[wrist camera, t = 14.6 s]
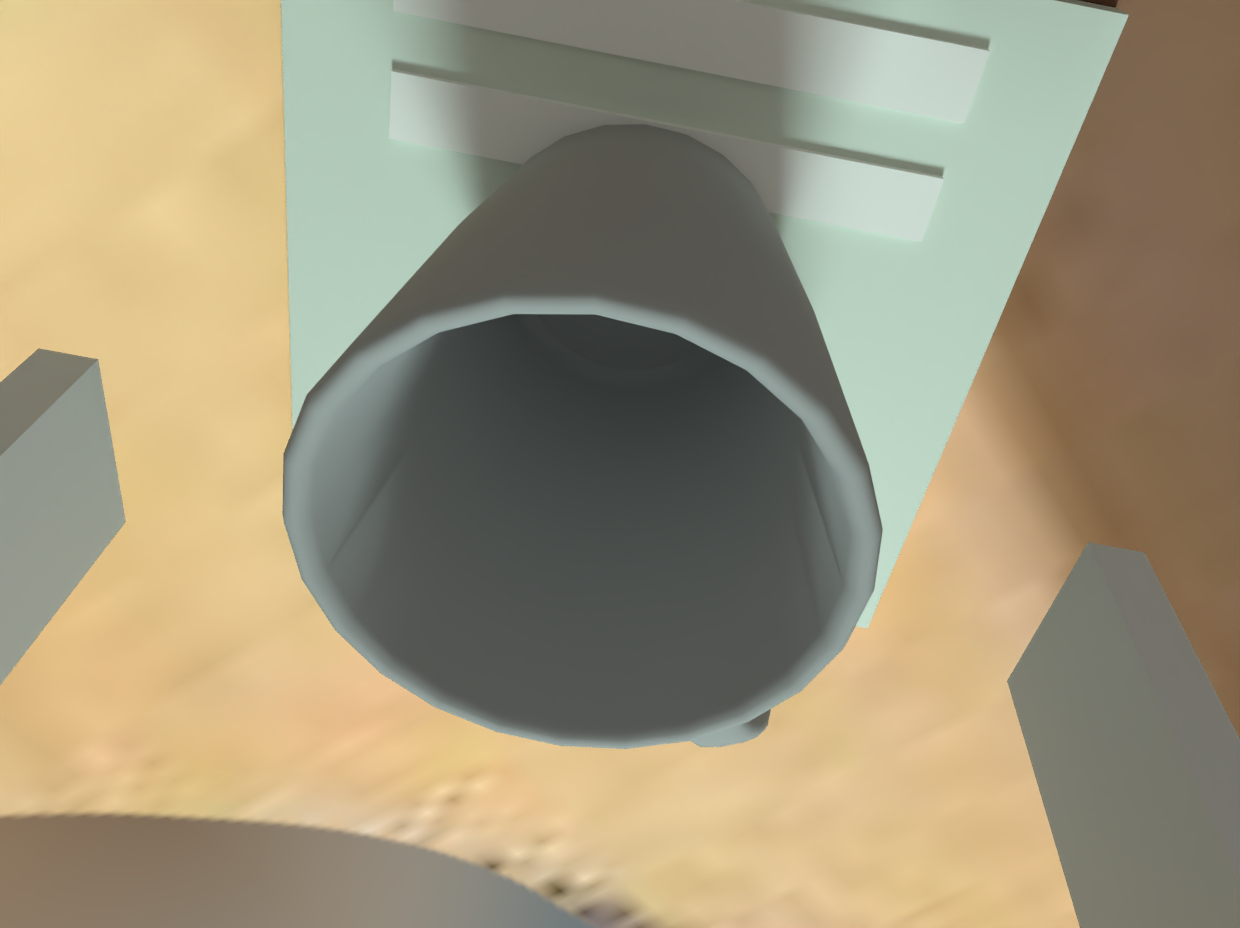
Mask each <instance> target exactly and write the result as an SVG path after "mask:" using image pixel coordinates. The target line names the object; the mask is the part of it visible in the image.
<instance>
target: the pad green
mask: <svg viewBox="0 0 1240 928" xmlns="http://www.w3.org/2000/svg"><path fill="white" fill-rule="evenodd" d="M1128 16H1129V15H1128V14H1126V13H1124V12H1123V11H1121V10H1119V9H1118V8H1114V7H1109V6H1104V5H1099V4H1094V3H1089V2H1084V1H1079V0H281V19H282V56H283V93H284V130H285V167H286V204H287V241H288V278H289V315H290V352H291V389H292V426H293V428H294V426H295V423H296V421H297V418H298V416H299V413H300V410H301V408H302V405H303V403H304V400H305V398H306V395H307V394H308V393H309V391H310V390H311V389H312V388H313V387H314V386H315V385H316V383H317V382H318V381H319V380H320V379H321V378H322V377H323V376H324V374H325V373H326V372H327V371H328V370H329V369H330V368H331V366H332V365H333V364H334V363H335V362H336V361H337V360H338V358H339V357H340V356H341V355H342V354H343V353H344V352H345V351H346V349H347V348H348V347H349V346H350V345H351V344H352V343H353V341H354V340H355V339H356V338H357V337H358V336H359V335H360V334H361V333H362V331H363V330H364V329H365V328H366V327H367V326H368V325H369V324H370V323H371V321H372V320H373V319H374V318H375V317H376V316H377V315H378V314H379V313H380V311H381V310H382V309H383V308H384V307H385V306H386V305H387V304H388V303H389V301H390V300H391V299H392V298H393V297H394V296H395V295H396V294H397V293H398V291H399V290H400V289H401V288H402V287H403V286H404V285H405V284H406V283H407V281H408V280H409V279H410V278H411V277H412V276H413V275H414V274H415V273H416V271H417V270H418V269H419V268H420V267H421V266H422V265H423V264H424V263H425V261H426V260H427V259H428V258H429V257H430V256H431V255H432V254H433V253H434V251H435V250H436V249H437V248H438V247H439V246H440V245H441V244H442V243H443V241H444V240H445V239H446V238H447V237H448V236H449V235H450V234H451V233H452V231H453V230H454V229H455V228H456V227H457V226H458V225H459V224H460V223H461V222H462V221H463V220H464V219H465V218H466V217H467V216H468V215H469V214H471V213H472V212H473V211H474V210H475V209H476V208H477V207H478V206H479V205H480V204H481V203H482V202H483V201H485V200H486V199H487V198H488V197H489V196H490V195H491V194H492V193H493V192H494V191H495V190H496V189H497V188H498V187H500V186H501V185H502V184H503V183H504V182H505V181H506V180H507V179H508V178H509V177H510V176H511V175H512V174H514V173H515V172H516V171H517V170H518V169H519V168H520V167H521V166H522V165H523V164H524V163H525V162H526V161H528V160H529V159H530V158H531V157H532V156H534V155H535V154H537V153H539V152H540V151H542V150H543V149H545V148H547V147H548V146H550V145H551V144H553V143H555V142H556V141H558V140H559V139H561V138H563V137H564V136H567V135H571V134H574V133H578V132H581V131H585V130H588V129H592V128H595V127H598V126H602V125H632V124H647V125H651V126H655V127H659V128H663V129H666V130H670V131H674V132H678V133H682V134H686V135H688V136H690V137H692V138H694V139H696V140H697V141H699V142H701V143H703V144H704V145H706V146H708V147H710V148H712V149H713V150H715V151H717V152H719V153H721V154H722V155H724V156H725V157H726V158H727V159H728V160H729V161H730V162H731V163H732V164H733V165H734V166H735V167H736V168H737V169H738V170H739V171H740V172H741V173H742V174H743V175H744V176H745V177H746V178H747V179H748V180H749V181H750V182H751V183H752V184H753V186H754V188H755V189H756V191H757V193H758V195H759V196H760V198H761V200H762V202H763V203H764V205H765V207H766V209H767V210H768V212H769V214H770V216H771V217H772V220H773V222H774V224H775V226H776V228H777V231H778V233H779V235H780V237H781V239H782V242H783V244H784V246H785V248H786V250H787V253H788V255H789V257H790V259H791V261H792V264H793V266H794V268H795V270H796V272H797V275H798V277H799V279H800V281H801V283H802V286H803V288H804V290H805V292H806V294H807V297H808V299H809V301H810V303H811V305H812V308H813V310H814V312H815V315H816V318H817V321H818V323H819V326H820V329H821V332H822V335H823V337H824V340H825V343H826V346H827V349H828V351H829V354H830V357H831V360H832V363H833V365H834V368H835V371H836V374H837V377H838V379H839V382H840V385H841V388H842V391H843V393H844V396H845V399H846V402H847V405H848V407H849V410H850V413H851V416H852V418H853V421H854V424H855V427H856V430H857V432H858V435H859V438H860V441H861V444H862V446H863V449H864V452H865V455H866V458H867V460H868V463H869V467H870V471H871V476H872V481H873V485H874V490H875V495H876V500H877V504H878V509H879V514H880V518H881V523H882V528H883V532H882V539H881V546H880V553H879V560H878V567H877V574H876V581H875V588H874V591H873V593H872V595H871V597H870V599H869V601H868V603H867V605H866V607H865V609H864V610H863V612H862V614H861V616H860V618H859V620H858V622H857V624H856V626H858V627H863V628H868V626H869V623H870V621H871V619H872V616H873V614H874V612H875V609H876V607H877V605H878V602H879V600H880V598H881V595H882V593H883V591H884V588H885V586H886V584H887V581H888V579H889V577H890V574H891V572H892V569H893V567H894V565H895V562H896V560H897V558H898V555H899V553H900V551H901V548H902V546H903V544H904V541H905V539H906V537H907V534H908V532H909V530H910V527H911V525H912V523H913V520H914V518H915V516H916V513H917V511H918V508H919V506H920V504H921V501H922V499H923V497H924V494H925V492H926V490H927V487H928V485H929V483H930V480H931V478H932V476H933V473H934V471H935V469H936V466H937V464H938V462H939V459H940V457H941V454H942V452H943V450H944V447H945V445H946V443H947V440H948V438H949V436H950V433H951V431H952V429H953V426H954V424H955V422H956V419H957V417H958V415H959V412H960V410H961V408H962V405H963V403H964V401H965V398H966V396H967V393H968V391H969V389H970V386H971V384H972V382H973V379H974V377H975V375H976V372H977V370H978V368H979V365H980V363H981V361H982V358H983V356H984V354H985V351H986V349H987V347H988V344H989V342H990V339H991V337H992V335H993V332H994V330H995V328H996V325H997V323H998V321H999V318H1000V316H1001V314H1002V311H1003V309H1004V307H1005V304H1006V302H1007V300H1008V297H1009V295H1010V293H1011V290H1012V288H1013V286H1014V283H1015V281H1016V278H1017V276H1018V274H1019V271H1020V269H1021V267H1022V264H1023V262H1024V260H1025V257H1026V255H1027V253H1028V250H1029V248H1030V246H1031V243H1032V241H1033V239H1034V236H1035V234H1036V232H1037V229H1038V227H1039V224H1040V222H1041V220H1042V217H1043V215H1044V213H1045V210H1046V208H1047V206H1048V203H1049V201H1050V199H1051V196H1052V194H1053V192H1054V189H1055V187H1056V185H1057V182H1058V180H1059V178H1060V175H1061V173H1062V171H1063V168H1064V166H1065V163H1066V161H1067V159H1068V156H1069V154H1070V152H1071V149H1072V147H1073V145H1074V142H1075V140H1076V138H1077V135H1078V133H1079V131H1080V128H1081V126H1082V124H1083V121H1084V119H1085V117H1086V114H1087V112H1088V109H1089V107H1090V105H1091V102H1092V100H1093V98H1094V95H1095V93H1096V91H1097V88H1098V86H1099V84H1100V81H1101V79H1102V77H1103V74H1104V72H1105V70H1106V67H1107V65H1108V63H1109V60H1110V58H1111V56H1112V53H1113V51H1114V48H1115V46H1116V44H1117V41H1118V39H1119V37H1120V34H1121V32H1122V30H1123V27H1124V25H1125V23H1126V20H1127V18H1128Z"/></svg>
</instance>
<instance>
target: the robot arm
mask: <svg viewBox="0 0 1240 928" xmlns="http://www.w3.org/2000/svg"><path fill="white" fill-rule="evenodd" d="M125 522H126V521H125V515H124V509H123V503H122V497H121V491H120V485H119V480H118V474H117V468H116V462H115V456H114V450H113V444H112V438H111V432H110V427H109V421H108V415H107V409H106V403H105V397H104V391H103V385H102V379H101V374H100V368H99V362H98V359H93V358H87V357H82V356H77V355H71V354H66V353H60V352H55V351H50V350H44V349H38V350H36V351H35V352H34V353H33V354H32V355H31V356H30V357H29V358H27V359H26V360H25V361H24V362H23V363H22V364H21V365H20V366H18V367H17V368H16V369H15V370H14V371H13V372H12V373H11V374H9V375H8V376H7V377H6V378H5V379H4V380H3V381H2V382H0V685H1V684H2V682H3V681H4V680H5V678H6V677H7V676H8V674H9V673H10V672H11V670H12V669H13V668H14V667H15V665H16V664H17V663H18V661H19V660H20V659H21V657H22V656H23V655H24V654H25V652H26V651H27V650H28V648H29V647H30V646H31V644H32V643H33V642H34V641H35V639H36V638H37V637H38V635H39V634H40V633H41V631H42V630H43V629H44V627H45V626H46V625H47V624H48V622H49V621H50V620H51V618H52V617H53V616H54V614H55V613H56V612H57V611H58V609H59V608H60V607H61V605H62V604H63V603H64V601H65V600H66V599H67V597H68V596H69V595H70V594H71V592H72V591H73V590H74V588H75V587H76V586H77V584H78V583H79V582H80V581H81V579H82V578H83V577H84V575H85V574H86V573H87V571H88V570H89V569H90V568H91V566H92V565H93V564H94V562H95V561H96V560H97V558H98V557H99V556H100V554H101V553H102V552H103V551H104V549H105V548H106V547H107V545H108V544H109V543H110V541H111V540H112V539H113V538H114V536H115V535H116V534H117V532H118V531H119V530H120V528H121V527H122V526H123V524H124V523H125ZM1007 682H1008V685H1009V689H1010V692H1011V695H1012V699H1013V702H1014V706H1015V709H1016V712H1017V716H1018V719H1019V722H1020V726H1021V729H1022V733H1023V736H1024V739H1025V743H1026V746H1027V750H1028V753H1029V756H1030V760H1031V763H1032V766H1033V770H1034V773H1035V777H1036V780H1037V783H1038V787H1039V790H1040V794H1041V797H1042V800H1043V804H1044V807H1045V811H1046V814H1047V817H1048V821H1049V824H1050V827H1051V831H1052V834H1053V838H1054V841H1055V844H1056V848H1057V851H1058V855H1059V858H1060V861H1061V865H1062V868H1063V872H1064V875H1065V878H1066V882H1067V885H1068V888H1069V892H1070V895H1071V899H1072V902H1073V905H1074V909H1075V912H1076V916H1077V919H1078V922H1079V926H1080V928H1240V739H1239V737H1238V735H1237V733H1236V731H1235V729H1234V727H1233V725H1232V723H1231V721H1230V719H1229V717H1228V715H1227V713H1226V712H1225V710H1224V708H1223V706H1222V704H1221V702H1220V700H1219V698H1218V696H1217V694H1216V692H1215V690H1214V688H1213V686H1212V684H1211V682H1210V680H1209V678H1208V676H1207V674H1206V672H1205V670H1204V668H1203V666H1202V664H1201V662H1200V661H1199V659H1198V657H1197V655H1196V653H1195V651H1194V649H1193V647H1192V645H1191V643H1190V641H1189V639H1188V637H1187V635H1186V633H1185V631H1184V629H1183V627H1182V625H1181V623H1180V621H1179V619H1178V617H1177V615H1176V613H1175V611H1174V609H1173V608H1172V606H1171V604H1170V602H1169V600H1168V598H1167V596H1166V594H1165V592H1164V590H1163V588H1162V586H1161V584H1160V582H1159V580H1158V578H1157V576H1156V574H1155V572H1154V570H1153V568H1152V566H1151V564H1150V562H1149V560H1148V558H1147V557H1146V555H1145V553H1144V552H1138V551H1133V550H1127V549H1122V548H1116V547H1111V546H1106V545H1100V544H1095V543H1089V542H1088V544H1087V545H1086V547H1085V549H1084V551H1083V552H1082V554H1081V556H1080V557H1079V559H1078V561H1077V562H1076V564H1075V566H1074V568H1073V569H1072V571H1071V573H1070V574H1069V576H1068V578H1067V580H1066V581H1065V583H1064V585H1063V586H1062V588H1061V590H1060V592H1059V593H1058V595H1057V597H1056V598H1055V600H1054V602H1053V604H1052V605H1051V607H1050V609H1049V610H1048V612H1047V614H1046V616H1045V617H1044V619H1043V621H1042V622H1041V624H1040V626H1039V627H1038V629H1037V631H1036V633H1035V634H1034V636H1033V638H1032V639H1031V641H1030V643H1029V645H1028V646H1027V648H1026V650H1025V651H1024V653H1023V655H1022V657H1021V658H1020V660H1019V662H1018V663H1017V665H1016V667H1015V669H1014V670H1013V672H1012V674H1011V675H1010V677H1009V679H1008V681H1007Z"/></svg>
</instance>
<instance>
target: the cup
mask: <svg viewBox="0 0 1240 928" xmlns="http://www.w3.org/2000/svg"><path fill="white" fill-rule="evenodd" d="M283 519H284V524H285V527H286V530H287V533H288V537H289V540H290V543H291V546H292V549H293V552H294V556H295V559H296V562H297V565H298V568H299V572H300V575H301V578H302V580H303V582H304V583H305V585H306V586H307V588H308V589H309V591H310V592H311V594H312V595H313V597H314V598H315V600H316V602H317V603H318V605H319V606H320V608H321V609H322V611H323V612H324V614H325V615H326V617H327V618H328V620H329V621H330V623H331V624H332V626H333V627H334V629H335V630H336V631H337V632H338V633H339V634H340V635H341V636H342V637H343V638H344V639H345V640H346V641H347V642H348V643H349V644H350V645H352V646H353V647H354V648H355V649H356V650H357V651H358V652H359V653H360V654H361V655H362V656H363V657H364V658H365V659H366V660H367V661H368V662H369V663H371V664H372V665H373V666H374V667H375V668H376V669H377V670H378V671H379V672H380V673H381V674H383V675H384V676H386V677H388V678H389V679H391V680H392V681H394V682H396V683H397V684H399V685H400V686H402V687H404V688H405V689H407V690H408V691H410V692H412V693H413V694H415V695H416V696H418V697H420V698H421V699H423V700H424V701H426V702H427V703H429V704H431V705H432V706H434V707H436V708H438V709H441V710H443V711H446V712H448V713H451V714H453V715H456V716H458V717H460V718H463V719H465V720H468V721H470V722H473V723H475V724H478V725H480V726H483V727H485V728H488V729H490V730H493V731H495V732H499V733H504V734H509V735H513V736H518V737H522V738H527V739H532V740H536V741H541V742H545V743H550V744H554V745H559V746H576V747H596V748H617V749H629V748H637V747H645V746H653V745H661V744H669V743H677V742H685V741H691V742H693V743H695V744H696V745H698V746H700V747H722V746H727V745H732V744H737V743H741V742H746V741H748V740H750V739H753V738H755V737H757V736H758V735H760V734H761V733H762V732H763V731H764V730H765V728H766V727H767V725H768V720H769V716H770V711H771V708H773V707H775V706H776V705H778V704H780V703H781V702H783V701H785V700H787V699H788V698H790V697H792V696H793V695H795V694H797V693H799V692H800V691H802V690H803V689H804V688H805V687H806V686H807V685H808V683H809V682H810V681H811V680H812V679H813V678H814V677H815V676H816V675H817V674H818V673H819V672H820V671H821V670H822V669H823V668H824V667H825V666H826V665H827V664H828V663H829V662H830V661H831V660H832V659H833V658H834V657H835V656H836V655H837V654H838V653H839V652H840V651H841V650H842V649H843V648H844V646H845V645H846V643H847V641H848V639H849V637H850V635H851V633H852V632H853V630H854V628H855V626H856V624H857V622H858V620H859V618H860V616H861V614H862V612H863V610H864V609H865V607H866V605H867V603H868V601H869V599H870V597H871V595H872V593H873V591H874V588H875V581H876V574H877V567H878V560H879V553H880V546H881V539H882V532H883V528H882V523H881V518H880V514H879V509H878V504H877V500H876V495H875V490H874V485H873V481H872V476H871V471H870V467H869V463H868V460H867V458H866V455H865V452H864V449H863V446H862V444H861V441H860V438H859V435H858V432H857V430H856V427H855V424H854V421H853V418H852V416H851V413H850V410H849V407H848V405H847V402H846V399H845V396H844V393H843V391H842V388H841V385H840V382H839V379H838V377H837V374H836V371H835V368H834V365H833V363H832V360H831V357H830V354H829V351H828V349H827V346H826V343H825V340H824V337H823V335H822V332H821V329H820V326H819V323H818V321H817V318H816V315H815V312H814V310H813V308H812V305H811V303H810V301H809V299H808V297H807V294H806V292H805V290H804V288H803V286H802V283H801V281H800V279H799V277H798V275H797V272H796V270H795V268H794V266H793V264H792V261H791V259H790V257H789V255H788V253H787V250H786V248H785V246H784V244H783V242H782V239H781V237H780V235H779V233H778V231H777V228H776V226H775V224H774V222H773V220H772V217H771V216H770V214H769V212H768V210H767V209H766V207H765V205H764V203H763V202H762V200H761V198H760V196H759V195H758V193H757V191H756V189H755V188H754V186H753V184H752V183H751V182H750V181H749V180H748V179H747V178H746V177H745V176H744V175H743V174H742V173H741V172H740V171H739V170H738V169H737V168H736V167H735V166H734V165H733V164H732V163H731V162H730V161H729V160H728V159H727V158H726V157H725V156H724V155H722V154H721V153H719V152H717V151H715V150H713V149H712V148H710V147H708V146H706V145H704V144H703V143H701V142H699V141H697V140H696V139H694V138H692V137H690V136H688V135H686V134H682V133H678V132H674V131H670V130H666V129H663V128H659V127H655V126H651V125H647V124H632V125H602V126H598V127H595V128H592V129H588V130H585V131H581V132H578V133H574V134H571V135H567V136H564V137H563V138H561V139H559V140H558V141H556V142H555V143H553V144H551V145H550V146H548V147H547V148H545V149H543V150H542V151H540V152H539V153H537V154H535V155H534V156H532V157H531V158H530V159H529V160H528V161H526V162H525V163H524V164H523V165H522V166H521V167H520V168H519V169H518V170H517V171H516V172H515V173H514V174H512V175H511V176H510V177H509V178H508V179H507V180H506V181H505V182H504V183H503V184H502V185H501V186H500V187H498V188H497V189H496V190H495V191H494V192H493V193H492V194H491V195H490V196H489V197H488V198H487V199H486V200H485V201H483V202H482V203H481V204H480V205H479V206H478V207H477V208H476V209H475V210H474V211H473V212H472V213H471V214H469V215H468V216H467V217H466V218H465V219H464V220H463V221H462V222H461V223H460V224H459V225H458V226H457V227H456V228H455V229H454V230H453V231H452V233H451V234H450V235H449V236H448V237H447V238H446V239H445V240H444V241H443V243H442V244H441V245H440V246H439V247H438V248H437V249H436V250H435V251H434V253H433V254H432V255H431V256H430V257H429V258H428V259H427V260H426V261H425V263H424V264H423V265H422V266H421V267H420V268H419V269H418V270H417V271H416V273H415V274H414V275H413V276H412V277H411V278H410V279H409V280H408V281H407V283H406V284H405V285H404V286H403V287H402V288H401V289H400V290H399V291H398V293H397V294H396V295H395V296H394V297H393V298H392V299H391V300H390V301H389V303H388V304H387V305H386V306H385V307H384V308H383V309H382V310H381V311H380V313H379V314H378V315H377V316H376V317H375V318H374V319H373V320H372V321H371V323H370V324H369V325H368V326H367V327H366V328H365V329H364V330H363V331H362V333H361V334H360V335H359V336H358V337H357V338H356V339H355V340H354V341H353V343H352V344H351V345H350V346H349V347H348V348H347V349H346V351H345V352H344V353H343V354H342V355H341V356H340V357H339V358H338V360H337V361H336V362H335V363H334V364H333V365H332V366H331V368H330V369H329V370H328V371H327V372H326V373H325V374H324V376H323V377H322V378H321V379H320V380H319V381H318V382H317V383H316V385H315V386H314V387H313V388H312V389H311V390H310V391H309V393H308V394H307V395H306V398H305V400H304V403H303V405H302V408H301V410H300V413H299V416H298V418H297V421H296V423H295V426H294V428H293V431H292V434H291V436H290V439H289V441H288V444H287V446H286V449H285V452H284V465H283Z"/></svg>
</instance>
